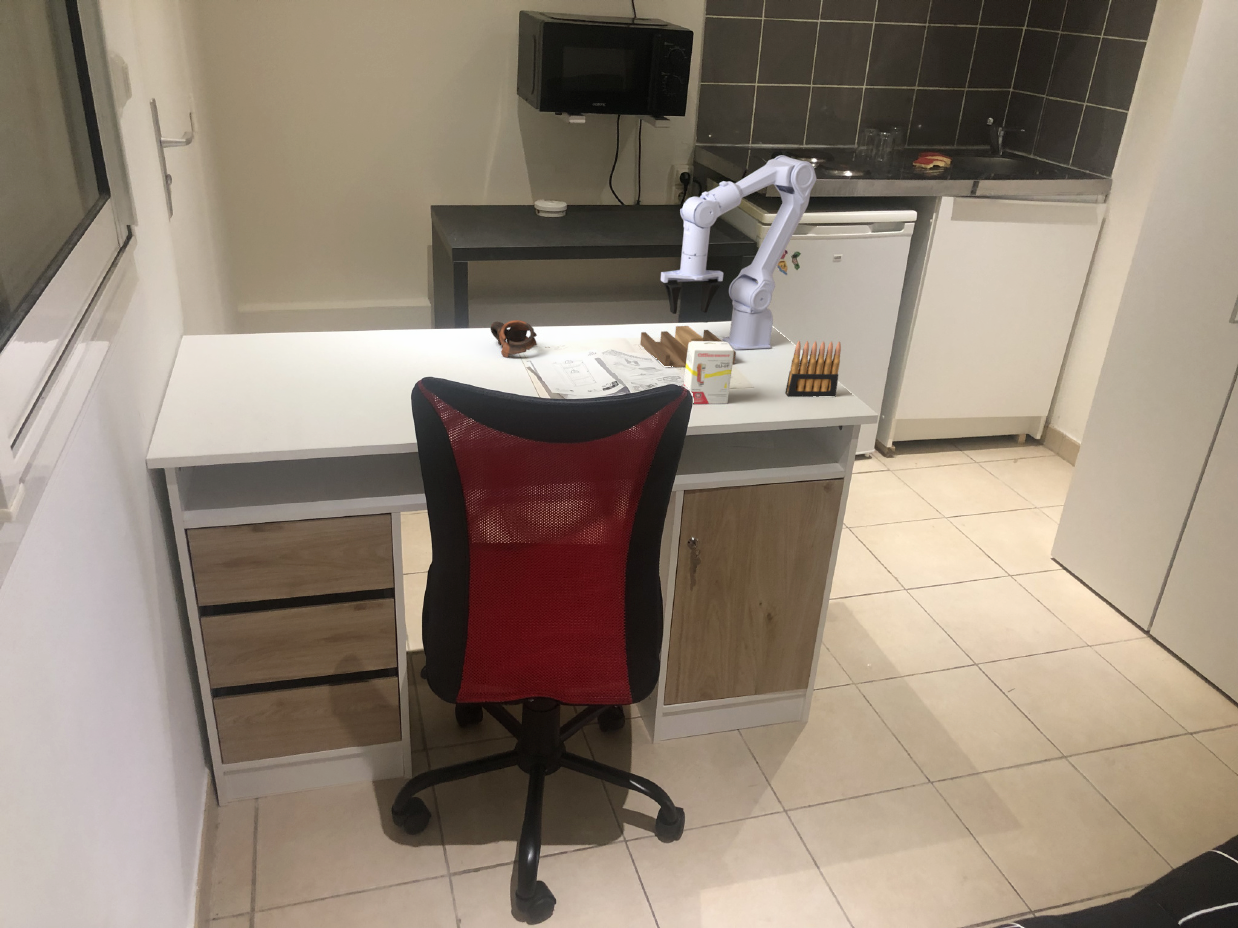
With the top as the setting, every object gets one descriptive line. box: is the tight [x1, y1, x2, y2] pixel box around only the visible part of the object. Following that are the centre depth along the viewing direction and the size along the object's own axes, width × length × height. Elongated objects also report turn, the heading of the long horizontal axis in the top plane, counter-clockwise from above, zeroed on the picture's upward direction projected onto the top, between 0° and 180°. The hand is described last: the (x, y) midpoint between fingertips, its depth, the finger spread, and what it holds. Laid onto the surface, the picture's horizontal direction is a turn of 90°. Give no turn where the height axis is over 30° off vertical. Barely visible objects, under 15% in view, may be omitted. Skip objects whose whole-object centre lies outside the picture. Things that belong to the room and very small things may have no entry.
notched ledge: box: [640, 329, 737, 368], centre depth 219 cm, size 17×16×3 cm
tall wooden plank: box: [674, 325, 703, 349], centre depth 218 cm, size 3×9×5 cm, turn 19°
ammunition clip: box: [784, 340, 842, 398], centre depth 199 cm, size 11×2×12 cm, turn 99°
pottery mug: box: [490, 319, 538, 358], centre depth 212 cm, size 12×10×8 cm
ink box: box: [683, 341, 735, 405], centre depth 192 cm, size 9×5×12 cm, turn 101°
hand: (688, 312), depth 218 cm, fingers open, 7 cm apart
